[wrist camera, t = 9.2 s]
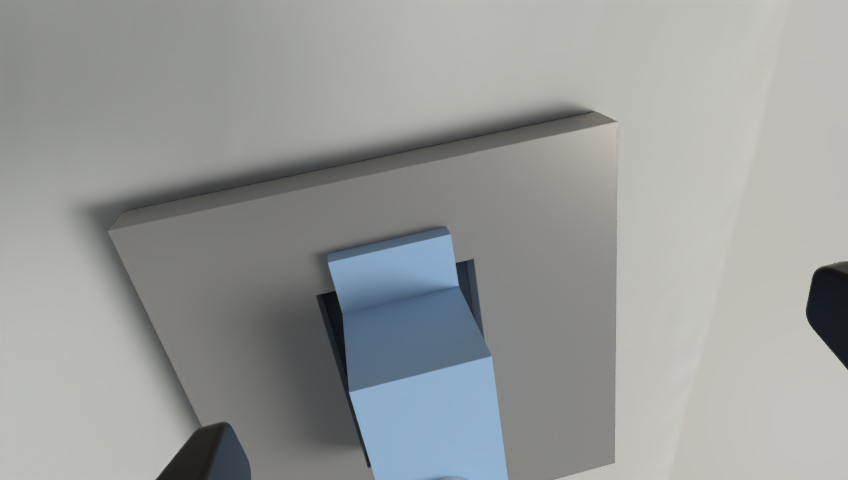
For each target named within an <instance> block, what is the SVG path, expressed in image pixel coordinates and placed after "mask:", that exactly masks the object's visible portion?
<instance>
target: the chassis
mask: <svg viewBox="0 0 848 480" xmlns="http://www.w3.org/2000/svg"><path fill="white" fill-rule="evenodd" d="M617 150H618V122H617V121H615V120H613V119H611V118H609V117H607V116H604V115H602V114H600V113H598V112H592V113H587V114H582V115H577V116H573V117H568V118H563V119H559V120H554V121H549V122H544V123H540V124H535V125H530V126H525V127H521V128H516V129H511V130H507V131H502V132H497V133H492V134H488V135H483V136H478V137H473V138H469V139H464V140H459V141H455V142H450V143H445V144H440V145H436V146H431V147H426V148H422V149H417V150H412V151H407V152H403V153H398V154H393V155H388V156H384V157H379V158H374V159H370V160H365V161H360V162H355V163H351V164H346V165H341V166H336V167H332V168H327V169H322V170H318V171H313V172H308V173H303V174H299V175H294V176H289V177H284V178H280V179H275V180H270V181H266V182H261V183H256V184H251V185H247V186H242V187H237V188H232V189H228V190H223V191H218V192H214V193H209V194H204V195H199V196H195V197H190V198H185V199H181V200H176V201H171V202H166V203H162V204H157V205H152V206H147V207H143V208H138V209H133V210H129V211H124V212H123V213H122V214H121V215H120V216H119V218H118V219H117V220H116V221H115V222H114V224H113V225H112V226H111V227H110V229H109V230H108V234H109V236H110V238H111V240H112V242H113V244H114V246H115V248H116V250H117V252H118V254H119V256H120V258H121V260H122V262H123V265H124V267H125V269H126V271H127V273H128V275H129V277H130V279H131V281H132V283H133V285H134V287H135V289H136V291H137V293H138V296H139V298H140V300H141V302H142V304H143V306H144V308H145V310H146V312H147V314H148V316H149V318H150V320H151V322H152V324H153V327H154V329H155V331H156V333H157V335H158V337H159V339H160V341H161V343H162V345H163V347H164V349H165V351H166V353H167V355H168V358H169V360H170V362H171V364H172V366H173V368H174V370H175V372H176V374H177V376H178V378H179V380H180V382H181V384H182V387H183V389H184V391H185V393H186V395H187V397H188V399H189V401H190V403H191V405H192V407H193V409H194V411H195V413H196V415H197V418H198V420H199V422H200V424H201V426H202V427H204V426H208V425H212V424H215V423H219V422H227V423H229V424H230V425H231V426H232V428H233V430H234V432H235V434H236V436H237V438H238V440H239V442H240V444H241V446H242V448H243V450H244V452H245V454H246V456H247V458H248V460H249V464H250V469H251V480H375V477H374V474H373V470H372V467H371V464H370V460H369V457H368V454H367V450H366V447H365V444H364V440H363V437H362V434H361V431H360V427H359V424H358V421H357V417H356V414H355V411H354V407H353V404H352V401H351V397H350V394H349V386H348V382H347V379H346V375H345V372H344V368H343V365H342V362H341V358H340V355H339V351H338V348H337V345H336V341H335V338H334V334H333V331H332V328H331V324H330V321H329V317H328V314H327V311H326V307H325V304H324V300H323V297H322V294H324V293H329V292H333V291H336V289H335V286H334V282H333V279H332V275H331V272H330V268H329V265H328V254H330V253H334V252H338V251H343V250H347V249H351V248H356V247H360V246H365V245H369V244H373V243H378V242H382V241H386V240H391V239H395V238H399V237H404V236H408V235H412V234H417V233H421V232H426V231H430V230H434V229H439V228H443V227H447V228H448V230H449V232H450V234H451V238H452V245H453V251H454V258H455V263H457V262H462V261H466V264H467V272H468V279H469V286H470V293H471V300H472V307H473V314H474V319H475V321H476V324H477V326H478V328H479V330H480V332H481V334H482V336H483V338H484V341H485V343H486V345H487V347H488V349H489V351H490V353H491V355H492V361H493V369H494V376H495V384H496V392H497V399H498V407H499V414H500V422H501V430H502V437H503V445H504V453H505V460H506V468H507V475H508V480H554V479H558V478H561V477H565V476H569V475H572V474H576V473H579V472H583V471H587V470H590V469H594V468H598V467H601V466H605V465H608V464H612V463H615V363H616V256H617Z"/></svg>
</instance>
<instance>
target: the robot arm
mask: <svg viewBox="0 0 848 480" xmlns="http://www.w3.org/2000/svg"><path fill="white" fill-rule="evenodd" d="M806 316H807V319H808V322H809V324H810V325H811V327H812V328H813V329H814V330H815V332H816V333H817V334H818V335H819V336H820V338H821V339H822V340H823V341H824V342H825V343H826V345H827V346H828V347H829V348H830V349H831V350H832V352H833V353H834V354H835V355H836V356H837V358H838V359H839V360H840V361H841V362H842V363H843V364H844V366H845V367H846V368H847V369H848V262H846V261H844V262H838V263H834V264H830V265H826V266H822V267H820V268H818V269H817V270H816V271H815V272H814V274H813V277H812V281H811V286H810V292H809V297H808V302H807V307H806ZM156 480H251V469H250V464H249V460H248V458H247V456H246V454H245V452H244V450H243V448H242V446H241V444H240V442H239V440H238V438H237V436H236V434H235V432H234V430H233V428H232V426H231V425H230V424H229V423H227V422H219V423H215V424H212V425H208V426H204V427H201V428H199V429H197V430H196V431H195V432H194V433H193V434H192V436H191V437H190V438H189V439H188V440H187V442H186V443H185V444H184V445H183V447H182V448H181V449H180V450H179V452H178V453H177V454H176V455H175V457H174V458H173V459H172V460H171V461H170V463H169V464H168V465H167V466H166V468H165V469H164V470H163V471H162V473H161V474H160V475H159V476H158V478H157V479H156Z"/></svg>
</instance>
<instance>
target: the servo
mask: <svg viewBox="0 0 848 480" xmlns="http://www.w3.org/2000/svg"><path fill="white" fill-rule="evenodd" d="M328 265H329V268H330V272H331V275H332V279H333V282H334V286H335V289H336V293H337V297H338V300H339V304H340V307H341V311H342V314H343V326H344V338H345V350H346V362H347V374H348V386H349V394H350V397H351V401H352V404H353V407H354V411H355V414H356V417H357V421H358V424H359V427H360V431H361V434H362V437H363V440H364V444H365V447H366V450H367V454H368V457H369V460H370V464H371V467H372V470H373V474H374V477H375V480H508V475H507V468H506V460H505V453H504V445H503V437H502V430H501V422H500V414H499V407H498V399H497V392H496V384H495V376H494V369H493V361H492V355H491V353H490V351H489V349H488V347H487V345H486V343H485V341H484V338H483V336H482V334H481V332H480V330H479V328H478V326H477V324H476V321H475V319H474V317H473V315H472V313H471V311H470V309H469V307H468V304H467V302H466V300H465V298H464V296H463V294H462V292H461V290H460V287H459V283H458V277H457V271H456V264H455V258H454V251H453V245H452V238H451V234H450V232H449V230H448V228H447V227H443V228H439V229H434V230H430V231H426V232H421V233H417V234H412V235H408V236H404V237H399V238H395V239H391V240H386V241H382V242H378V243H373V244H369V245H365V246H360V247H356V248H351V249H347V250H343V251H338V252H334V253H330V254H328Z"/></svg>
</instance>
